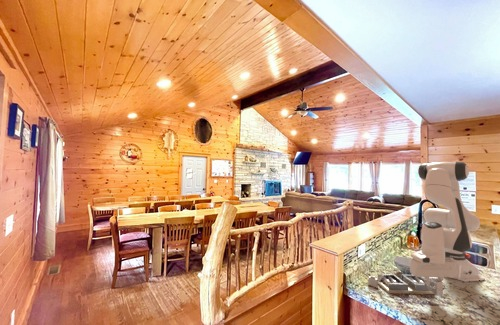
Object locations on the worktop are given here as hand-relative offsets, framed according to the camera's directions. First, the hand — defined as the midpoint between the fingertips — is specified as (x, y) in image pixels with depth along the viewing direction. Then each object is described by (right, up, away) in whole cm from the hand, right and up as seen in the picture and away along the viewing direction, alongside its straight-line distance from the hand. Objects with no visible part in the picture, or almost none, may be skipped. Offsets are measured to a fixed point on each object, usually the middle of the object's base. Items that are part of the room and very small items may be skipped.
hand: (433, 285), depth 103 cm
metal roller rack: (-6, -8, +11) cm, 15 cm away
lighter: (-21, -8, +11) cm, 25 cm away
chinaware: (+7, -8, +26) cm, 28 cm away
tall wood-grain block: (0, -3, 0) cm, 3 cm away
